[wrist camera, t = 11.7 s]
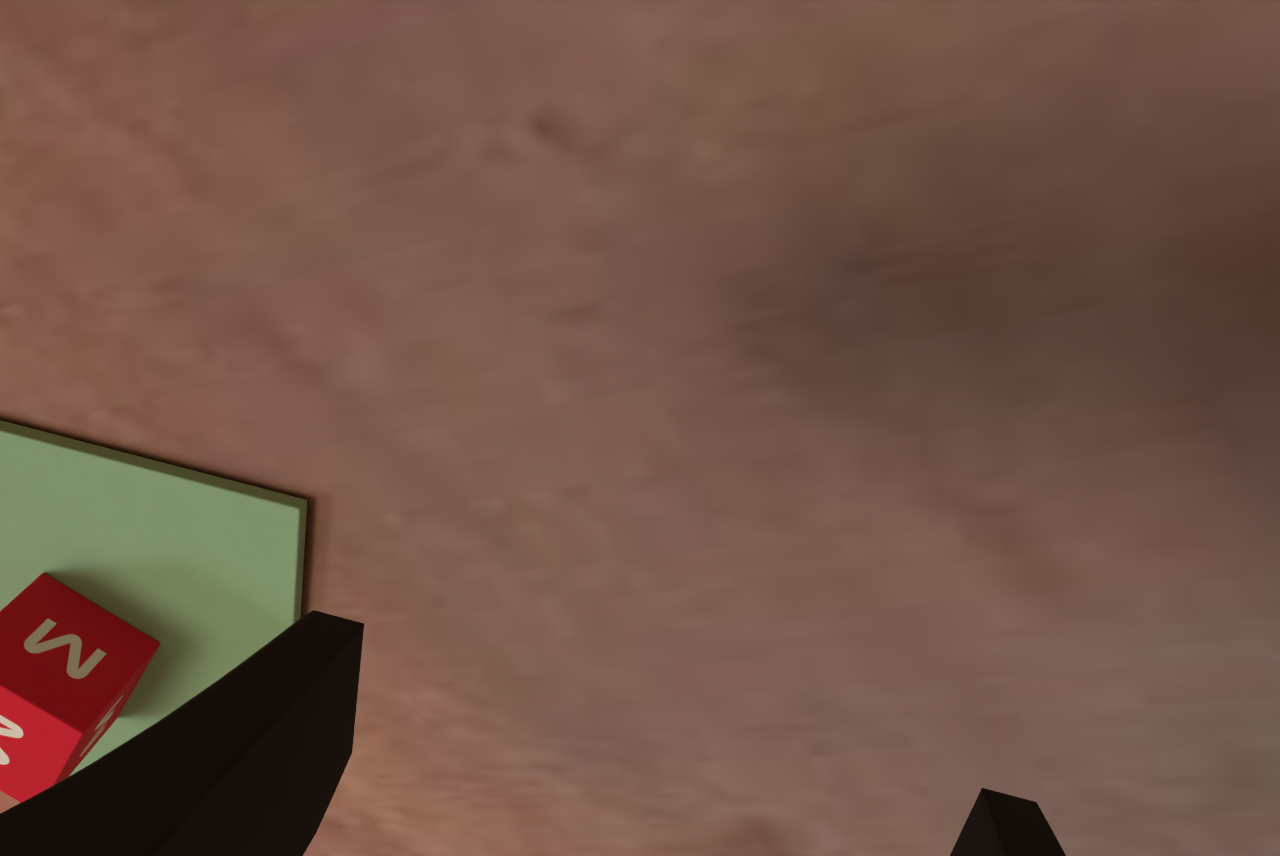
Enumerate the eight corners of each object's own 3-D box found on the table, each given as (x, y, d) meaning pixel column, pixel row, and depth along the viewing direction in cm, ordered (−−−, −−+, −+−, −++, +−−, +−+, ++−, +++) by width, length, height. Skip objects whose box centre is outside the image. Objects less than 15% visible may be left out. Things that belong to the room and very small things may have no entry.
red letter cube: (117, 718, 27) (38, 813, 25) (4, 652, 27) (-88, 741, 24) (161, 642, 26) (83, 733, 23) (43, 571, 25) (-50, 656, 23)
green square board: (287, 854, 29) (280, 867, 29) (-79, 753, 30) (-90, 764, 29) (308, 499, 24) (300, 509, 24) (-138, 383, 24) (-152, 391, 24)
